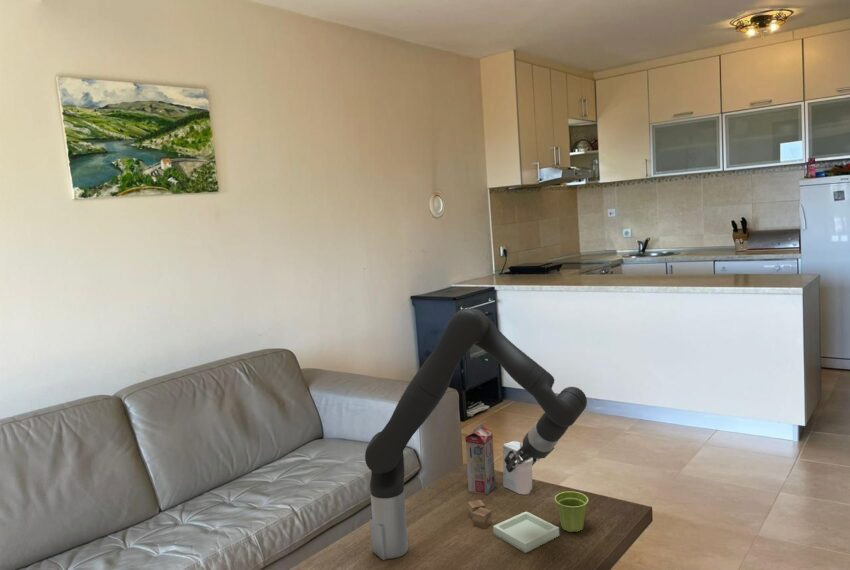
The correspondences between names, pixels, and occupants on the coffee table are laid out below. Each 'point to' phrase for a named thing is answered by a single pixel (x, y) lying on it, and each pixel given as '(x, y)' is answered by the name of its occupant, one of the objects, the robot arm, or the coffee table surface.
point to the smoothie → (523, 476)
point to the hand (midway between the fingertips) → (518, 466)
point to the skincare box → (507, 477)
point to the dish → (526, 531)
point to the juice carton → (480, 460)
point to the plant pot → (571, 510)
